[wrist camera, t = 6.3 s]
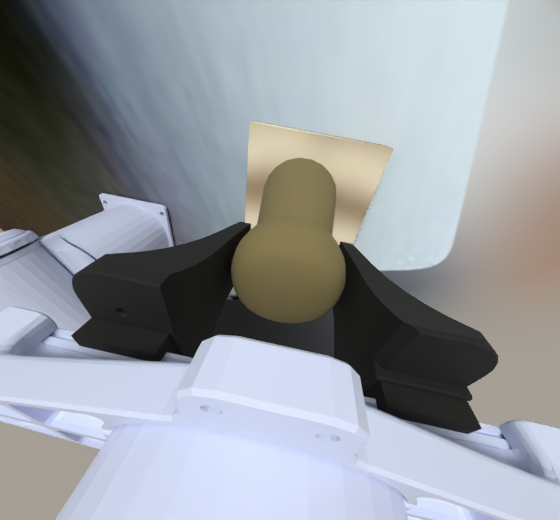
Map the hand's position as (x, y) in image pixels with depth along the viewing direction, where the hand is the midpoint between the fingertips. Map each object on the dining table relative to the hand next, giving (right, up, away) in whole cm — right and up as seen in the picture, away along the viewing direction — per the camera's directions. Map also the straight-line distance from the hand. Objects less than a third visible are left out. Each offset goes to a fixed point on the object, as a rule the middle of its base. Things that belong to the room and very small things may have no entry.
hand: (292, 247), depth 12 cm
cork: (+1, +5, +5) cm, 7 cm away
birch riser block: (+2, +6, +9) cm, 10 cm away
